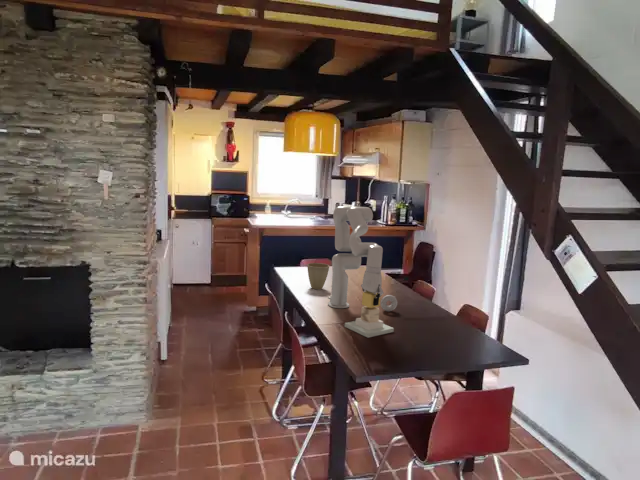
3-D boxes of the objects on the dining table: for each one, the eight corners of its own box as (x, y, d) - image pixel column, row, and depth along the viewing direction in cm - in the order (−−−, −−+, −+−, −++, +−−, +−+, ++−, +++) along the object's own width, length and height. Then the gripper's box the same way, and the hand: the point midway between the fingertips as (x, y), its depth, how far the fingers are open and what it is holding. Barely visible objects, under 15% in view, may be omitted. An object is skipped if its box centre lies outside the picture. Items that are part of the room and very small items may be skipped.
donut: (380, 312, 283) (382, 295, 281) (379, 310, 286) (380, 293, 284) (397, 312, 284) (398, 295, 282) (395, 310, 287) (397, 294, 286)
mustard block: (361, 304, 250) (362, 292, 249) (371, 302, 254) (372, 290, 253) (370, 307, 245) (371, 295, 244) (379, 306, 249) (380, 294, 248)
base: (344, 326, 253) (345, 317, 253) (369, 321, 264) (370, 312, 263) (367, 337, 239) (368, 328, 238) (393, 331, 250) (394, 322, 249)
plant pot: (327, 291, 320) (329, 268, 317) (305, 290, 320) (306, 266, 317) (328, 286, 335) (329, 263, 332) (306, 284, 335) (307, 262, 332)
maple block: (360, 318, 252) (361, 306, 251) (370, 317, 256) (371, 305, 255) (369, 322, 247) (370, 310, 246) (378, 320, 250) (379, 308, 249)
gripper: (356, 266, 251) (354, 299, 254) (380, 273, 238) (377, 308, 240) (367, 265, 256) (365, 298, 259) (390, 272, 242) (387, 307, 245)
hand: (370, 303), depth 249 cm, fingers closed on mustard block, 6 cm apart
